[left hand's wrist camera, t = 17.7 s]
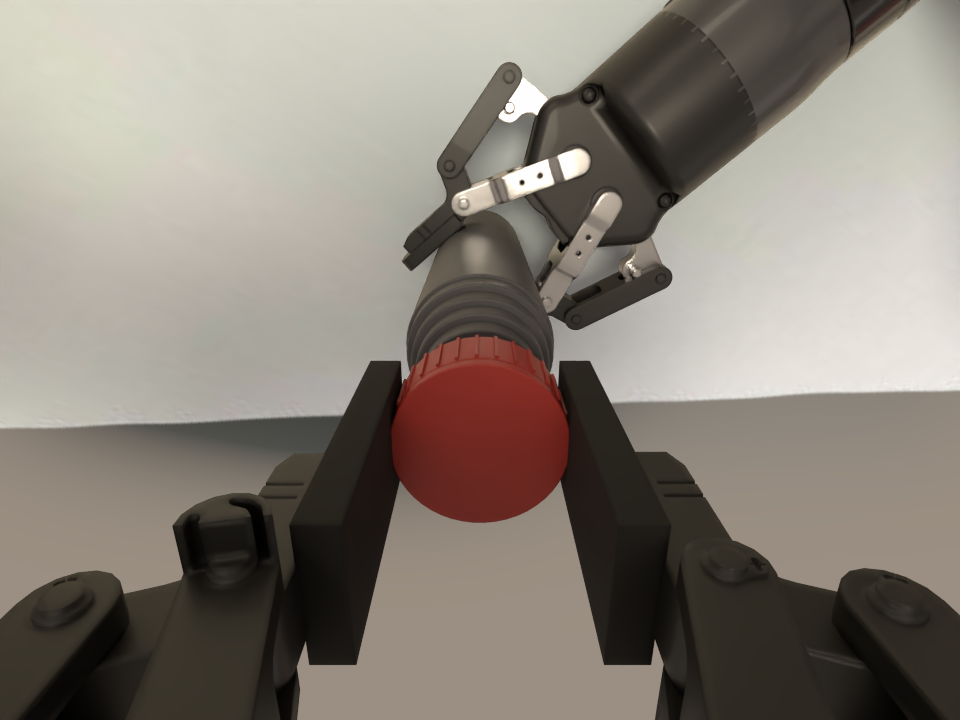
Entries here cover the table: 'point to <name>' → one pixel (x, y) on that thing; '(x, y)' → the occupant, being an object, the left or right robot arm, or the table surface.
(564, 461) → the cap
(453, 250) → the bottle
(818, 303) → the table surface
